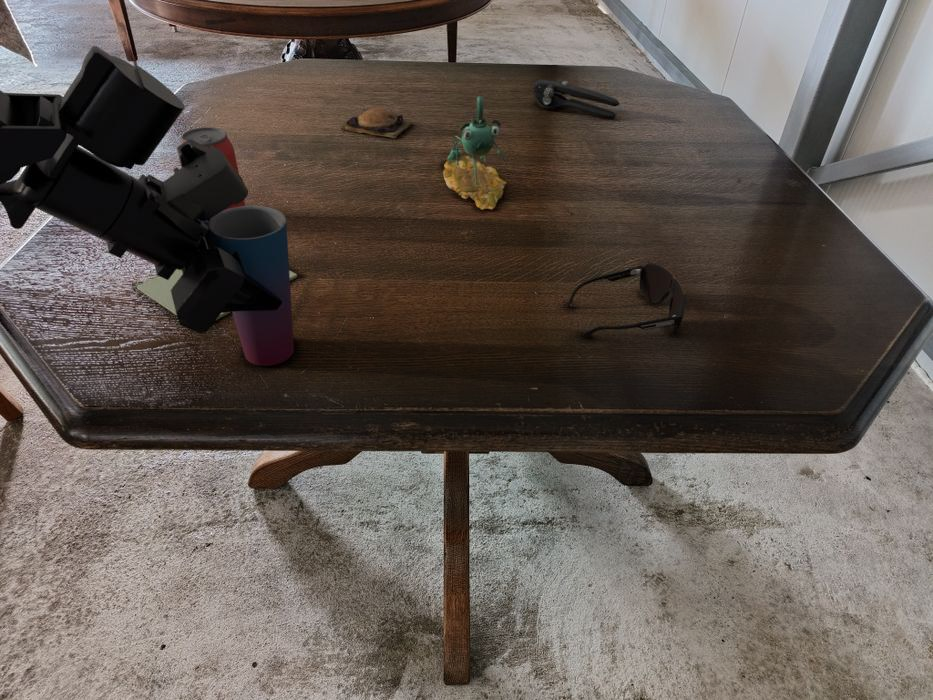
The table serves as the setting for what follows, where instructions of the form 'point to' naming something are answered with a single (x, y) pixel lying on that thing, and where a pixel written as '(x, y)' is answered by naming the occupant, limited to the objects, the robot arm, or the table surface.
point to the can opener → (551, 99)
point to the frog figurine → (475, 163)
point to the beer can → (218, 140)
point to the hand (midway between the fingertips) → (271, 288)
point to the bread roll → (378, 123)
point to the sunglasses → (648, 295)
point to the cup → (260, 277)
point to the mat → (162, 290)
